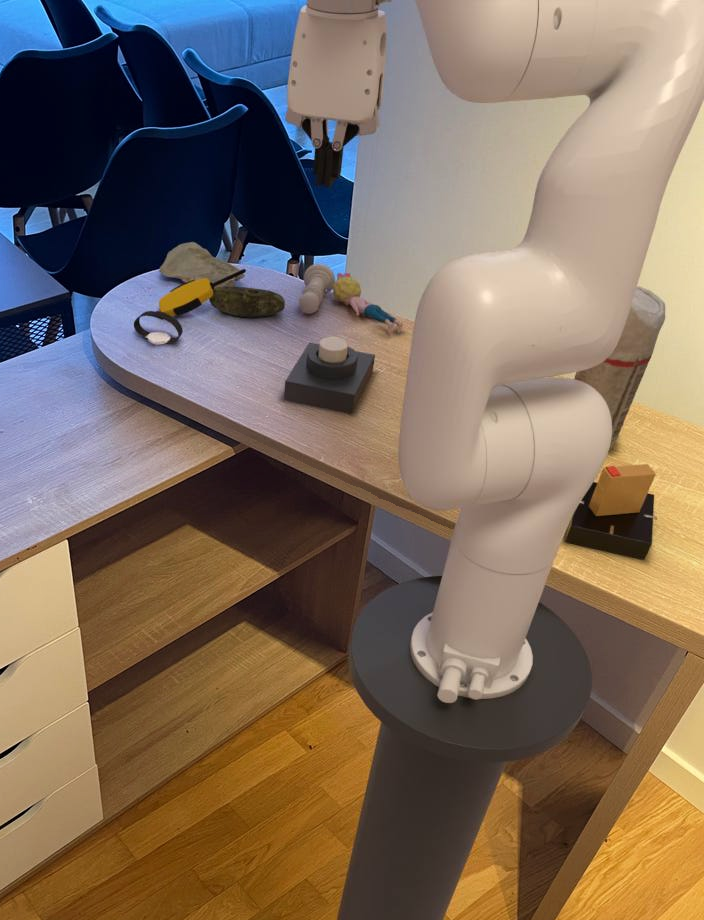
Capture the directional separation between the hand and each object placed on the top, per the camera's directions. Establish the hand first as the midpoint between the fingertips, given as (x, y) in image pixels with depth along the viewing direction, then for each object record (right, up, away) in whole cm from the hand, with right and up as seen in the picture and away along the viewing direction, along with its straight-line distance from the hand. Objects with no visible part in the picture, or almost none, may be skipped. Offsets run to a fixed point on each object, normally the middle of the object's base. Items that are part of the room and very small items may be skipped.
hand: (326, 182), depth 107 cm
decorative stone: (-8, +1, +35) cm, 36 cm away
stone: (-12, +12, +49) cm, 52 cm away
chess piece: (+4, +6, +43) cm, 43 cm away
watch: (-22, -5, +32) cm, 39 cm away
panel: (+34, -40, +2) cm, 53 cm away
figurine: (+15, -5, +34) cm, 37 cm away
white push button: (+3, -14, +20) cm, 25 cm away
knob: (+34, -39, 0) cm, 52 cm away
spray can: (+37, -27, +16) cm, 48 cm away
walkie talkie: (-22, -1, +38) cm, 44 cm away
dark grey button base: (+3, -17, +24) cm, 30 cm away
